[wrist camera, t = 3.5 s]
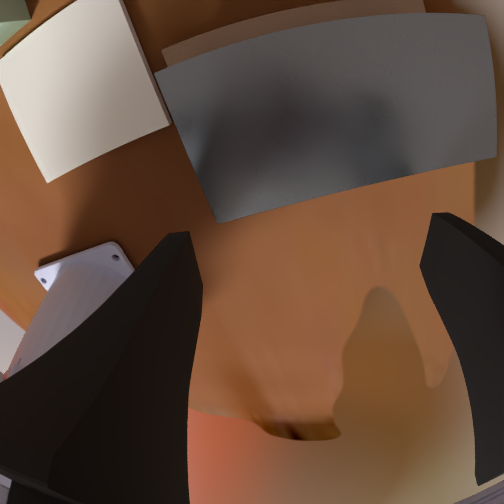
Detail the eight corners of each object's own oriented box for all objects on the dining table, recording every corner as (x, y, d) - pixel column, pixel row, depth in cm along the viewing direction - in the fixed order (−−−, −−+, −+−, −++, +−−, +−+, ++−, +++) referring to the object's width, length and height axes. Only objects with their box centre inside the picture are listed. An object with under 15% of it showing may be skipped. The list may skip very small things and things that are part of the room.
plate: (172, 122, 14) (169, 125, 14) (52, 178, 16) (47, 183, 15) (116, -18, 10) (111, -20, 9) (0, 64, 11) (-7, 66, 10)
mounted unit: (436, 125, 14) (512, 177, 9) (216, 177, 16) (200, 255, 11) (413, -4, 10) (498, -10, 5) (165, 49, 12) (109, 58, 7)
